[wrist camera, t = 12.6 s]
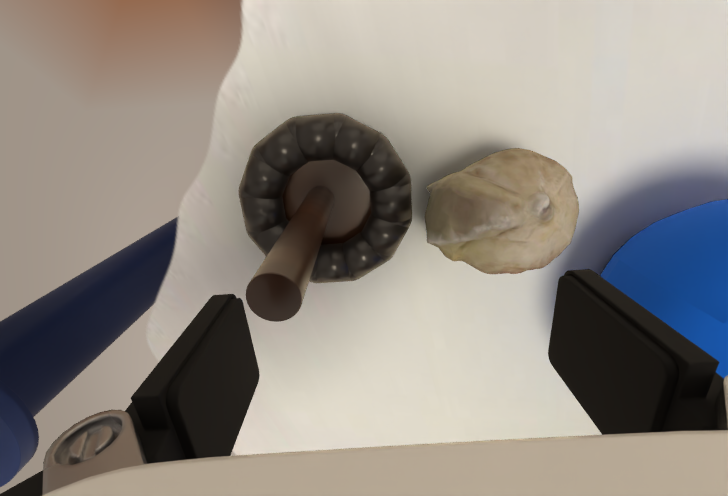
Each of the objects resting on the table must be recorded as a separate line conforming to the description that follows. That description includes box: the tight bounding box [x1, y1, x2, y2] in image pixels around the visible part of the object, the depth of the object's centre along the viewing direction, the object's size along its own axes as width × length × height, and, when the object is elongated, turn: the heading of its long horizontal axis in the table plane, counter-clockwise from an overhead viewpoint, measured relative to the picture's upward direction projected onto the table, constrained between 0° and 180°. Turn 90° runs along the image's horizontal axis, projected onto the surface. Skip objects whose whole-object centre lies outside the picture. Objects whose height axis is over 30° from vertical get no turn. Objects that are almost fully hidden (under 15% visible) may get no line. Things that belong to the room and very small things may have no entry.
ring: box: [239, 113, 412, 283], centre depth 24 cm, size 12×12×3 cm
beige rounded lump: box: [425, 148, 579, 274], centre depth 22 cm, size 9×8×10 cm
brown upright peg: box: [246, 160, 371, 321], centre depth 19 cm, size 8×8×15 cm
